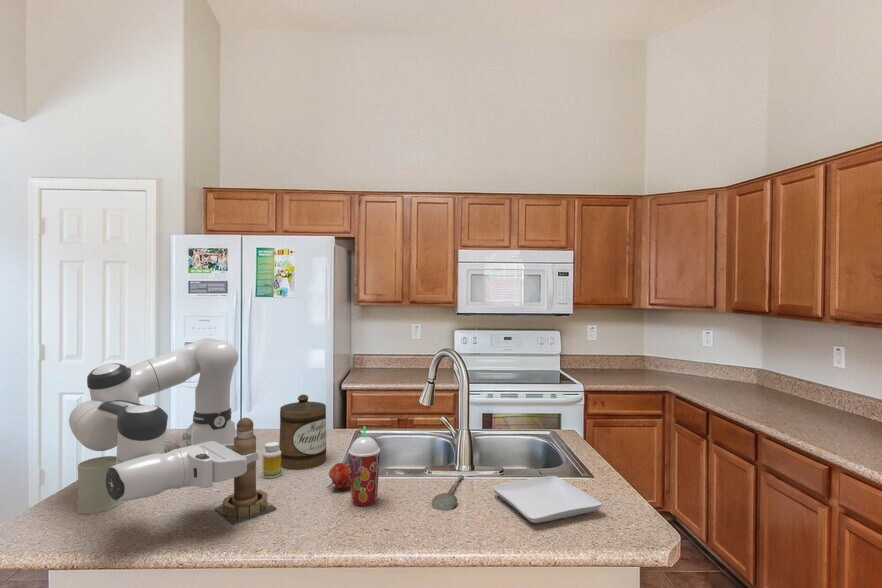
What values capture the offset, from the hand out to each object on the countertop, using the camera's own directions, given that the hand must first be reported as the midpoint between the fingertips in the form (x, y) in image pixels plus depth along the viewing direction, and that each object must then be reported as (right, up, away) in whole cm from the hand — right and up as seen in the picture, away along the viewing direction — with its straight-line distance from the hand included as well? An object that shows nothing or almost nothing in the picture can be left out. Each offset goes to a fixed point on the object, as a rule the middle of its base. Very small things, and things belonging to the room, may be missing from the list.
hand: (248, 451), depth 123 cm
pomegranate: (+21, -15, +14) cm, 29 cm away
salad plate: (+76, -16, +3) cm, 78 cm away
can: (-40, -15, +2) cm, 42 cm away
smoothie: (+29, -15, +5) cm, 33 cm away
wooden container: (+4, -15, +35) cm, 38 cm away
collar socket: (-1, -15, 0) cm, 15 cm away
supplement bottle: (-2, -15, +23) cm, 27 cm away
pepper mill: (-1, -14, -1) cm, 14 cm away
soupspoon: (+52, -16, +10) cm, 56 cm away
